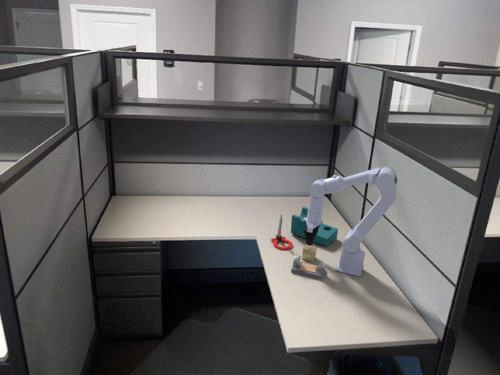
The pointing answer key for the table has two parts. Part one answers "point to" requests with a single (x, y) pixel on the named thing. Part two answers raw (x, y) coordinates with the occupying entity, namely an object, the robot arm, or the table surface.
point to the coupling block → (309, 253)
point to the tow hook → (281, 238)
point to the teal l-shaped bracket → (324, 232)
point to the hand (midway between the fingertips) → (310, 240)
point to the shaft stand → (308, 268)
